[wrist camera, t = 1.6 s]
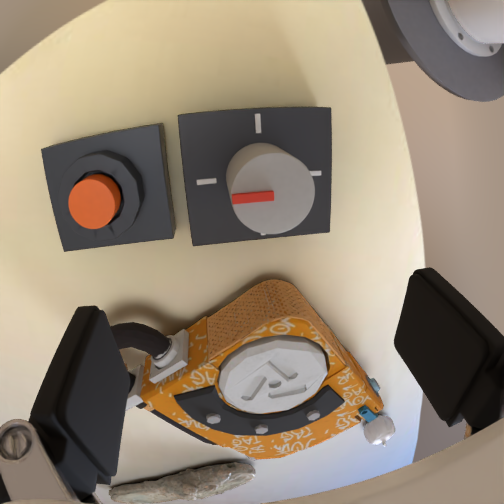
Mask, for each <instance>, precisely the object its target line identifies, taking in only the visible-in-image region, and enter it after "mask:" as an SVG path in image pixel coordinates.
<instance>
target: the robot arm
mask: <svg viewBox="0 0 504 504" xmlns="http://www.w3.org/2000/svg"><path fill="white" fill-rule="evenodd" d="M429 2H430V5H431V7H432V10H433V12H434V14H435V16H436V18H437V20H438V22H439V23H440V25H441V26H442V28H443V29H444V31H445V32H446V33H447V34H448V36H449V37H450V38H451V39H452V40H453V41H454V42H455V43H456V44H457V45H458V46H459V47H460V48H462V49H463V50H464V51H466V52H468V53H470V54H472V55H475V56H479V57H480V56H484V57H487V56H492V55H494V54H495V53H497V52H498V50H499V49H500V47H501V45H502V43H504V0H429ZM394 345H395V348H396V350H397V352H398V353H399V355H400V356H401V358H402V359H403V361H404V362H405V364H406V365H407V367H408V368H409V370H410V371H411V373H412V374H413V376H414V377H415V379H416V381H417V382H418V384H419V385H420V387H421V388H422V390H423V392H424V393H425V395H426V396H427V398H428V400H429V401H430V403H431V404H432V406H433V408H434V409H435V411H436V412H437V414H438V416H439V417H440V418H441V419H442V420H443V421H446V423H447V425H448V426H449V427H451V426H453V425H455V424H457V423H460V422H461V421H462V420H463V419H465V420H466V422H467V424H466V430H465V436H464V440H462V441H461V442H458V443H456V444H455V445H453V446H450V447H448V448H447V449H444V450H442V451H440V452H438V453H436V454H433V455H432V456H429V457H427V458H424V459H422V460H420V461H417V462H415V463H412V464H410V465H407V466H405V467H402V468H400V469H397V470H394V471H392V472H389V473H386V474H383V475H380V476H377V477H374V478H371V479H368V480H365V481H362V482H359V483H355V484H352V485H348V486H345V487H341V488H337V489H333V490H330V491H325V492H321V493H317V494H313V495H308V496H303V497H298V498H293V499H287V500H282V501H275V502H269V503H262V504H504V336H503V335H502V334H501V333H500V332H499V331H498V330H497V329H496V328H495V327H494V326H493V325H492V324H491V323H490V322H489V321H488V320H487V319H486V318H485V317H484V316H483V315H482V314H481V313H480V312H479V311H478V310H477V309H476V308H475V307H474V306H473V305H472V304H471V303H470V302H469V301H468V300H467V299H466V298H465V297H464V296H463V295H462V294H460V293H459V292H458V291H457V290H456V289H455V288H454V287H453V286H452V285H451V284H450V283H449V282H448V281H446V280H445V279H444V278H443V277H442V276H441V275H440V274H439V273H438V272H436V271H435V270H434V269H433V268H424V269H418V270H415V271H414V273H413V275H411V276H410V278H409V282H408V286H407V291H406V295H405V299H404V304H403V308H402V312H401V316H400V319H399V323H398V327H397V331H396V334H395V338H394ZM129 388H130V377H129V373H128V371H127V368H126V366H125V364H124V361H123V359H122V356H121V354H120V351H119V349H118V346H117V344H116V341H115V339H114V336H113V333H112V331H111V328H110V325H109V322H108V320H107V317H106V314H105V312H104V311H103V310H99V308H98V307H97V306H82V307H78V308H77V309H76V311H75V313H74V315H73V317H72V319H71V321H70V323H69V325H68V327H67V329H66V331H65V333H64V336H63V338H62V340H61V342H60V344H59V346H58V348H57V350H56V353H55V355H54V357H53V359H52V362H51V364H50V366H49V368H48V371H47V373H46V375H45V378H44V380H43V382H42V385H41V387H40V390H39V392H38V395H37V397H36V400H35V402H34V405H33V408H32V410H31V413H30V414H31V416H30V418H29V421H26V420H22V419H13V420H11V421H8V422H6V423H5V424H3V425H2V426H1V427H0V504H103V503H102V502H101V501H100V499H99V498H98V496H97V495H96V494H95V489H96V483H97V484H106V485H110V483H111V476H115V475H116V473H117V466H118V458H119V450H120V443H121V436H122V429H123V423H124V416H125V410H126V404H127V399H128V393H129Z"/></svg>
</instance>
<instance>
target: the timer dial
mask: <svg viewBox="0 0 504 504" xmlns="http://www.w3.org/2000/svg"><path fill="white" fill-rule="evenodd" d="M226 182H227V187H228V191H229V195H230V199H231V203H232V207H233V210H234V212H235V214H236V215H237V217H238V219H239V220H240V221H241V222H242V223H243V224H244V225H245V226H247V227H248V228H250V229H252V230H254V231H256V232H259V233H263V234H279V233H283V232H286V231H288V230H291V229H292V228H294V227H296V226H297V225H298V224H300V223H301V222H302V221H303V220H304V219H305V217H306V216H307V215H308V213H309V212H310V210H311V208H312V205H313V202H314V197H315V186H314V181H313V178H312V175H311V173H310V171H309V170H308V169H307V167H306V166H305V165H304V164H303V163H302V162H301V161H300V160H298V159H297V158H295V157H294V156H292V155H290V154H289V153H287V152H285V151H284V150H282V149H280V148H279V147H277V146H275V145H272V144H269V143H254V144H250V145H248V146H245V147H244V148H242V149H241V150H239V151H238V152H237V153H236V154H235V155H234V156H233V157H232V159H231V161H230V162H229V165H228V168H227V172H226Z"/></svg>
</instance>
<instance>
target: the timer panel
mask: <svg viewBox="0 0 504 504" xmlns="http://www.w3.org/2000/svg"><path fill="white" fill-rule="evenodd" d="M178 124H179V135H180V145H181V155H182V165H183V174H184V182H185V191H186V199H187V207H188V215H189V222H190V230H191V237H192V244H193V246H200V245H209V244H219V243H228V242H238V241H247V240H257V239H267V238H277V237H287V236H297V235H307V234H317V233H328V232H330V213H331V172H332V126H331V108H330V107H267V108H246V109H231V110H218V111H207V112H197V113H188V114H181V115H178ZM254 143H269V144H272V145H275V146H277V147H279V148H280V149H282V150H284V151H285V152H287V153H289V154H290V155H292V156H294V157H295V158H297V159H298V160H300V161H301V162H302V163H303V164H304V165H305V166H306V167H307V169H308V170H309V171H310V173H311V175H312V178H313V181H314V186H315V197H314V202H313V205H312V208H311V210H310V212H309V213H308V215H307V216H306V217H305V219H304V220H303V221H302V222H301V223H300V224H298V225H297V226H296V227H294V228H292V229H291V230H288V231H286V232H283V233H279V234H263V233H259V232H256V231H254V230H252V229H250V228H248V227H247V226H245V225H244V224H243V223H242V222H241V221H240V220H239V219H238V217H237V215H236V214H235V212H234V210H233V207H232V203H231V199H230V195H229V191H228V187H227V182H226V172H227V168H228V165H229V162H230V161H231V159H232V157H233V156H234V155H235V154H236V153H237V152H238V151H239V150H241V149H242V148H244V147H245V146H248V145H250V144H254Z"/></svg>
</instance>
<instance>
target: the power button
mask: <svg viewBox="0 0 504 504" xmlns="http://www.w3.org/2000/svg"><path fill="white" fill-rule="evenodd" d="M68 203H69V210H70V213H71V215H72V217H73V218H74V220H75V221H76V222H77V223H78V224H80V225H81V226H83V227H85V228H88V229H98V228H101V227H104V226H105V225H107V224H108V223H109V222H110V220H111V219H112V218H113V216H114V215H115V214H116V213H117V211H118V209H119V207H120V203H121V194H120V190H119V188H118V186H117V184H116V183H115V182H114V181H113V180H112V179H111V178H109V177H108V176H106V175H103V174H93V175H90V176H88V177H86V178H85V179H83V180H82V181H80V182H79V183H77V184H76V185H75V186H74V187H73V189H72V190H71V192H70V195H69V201H68Z"/></svg>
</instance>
